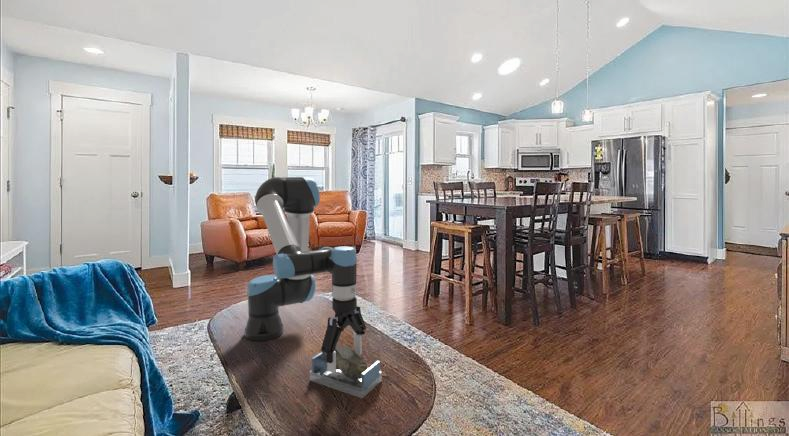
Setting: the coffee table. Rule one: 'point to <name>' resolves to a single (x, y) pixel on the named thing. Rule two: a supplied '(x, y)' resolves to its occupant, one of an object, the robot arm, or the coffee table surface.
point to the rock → (348, 362)
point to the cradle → (345, 378)
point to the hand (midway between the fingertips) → (345, 362)
